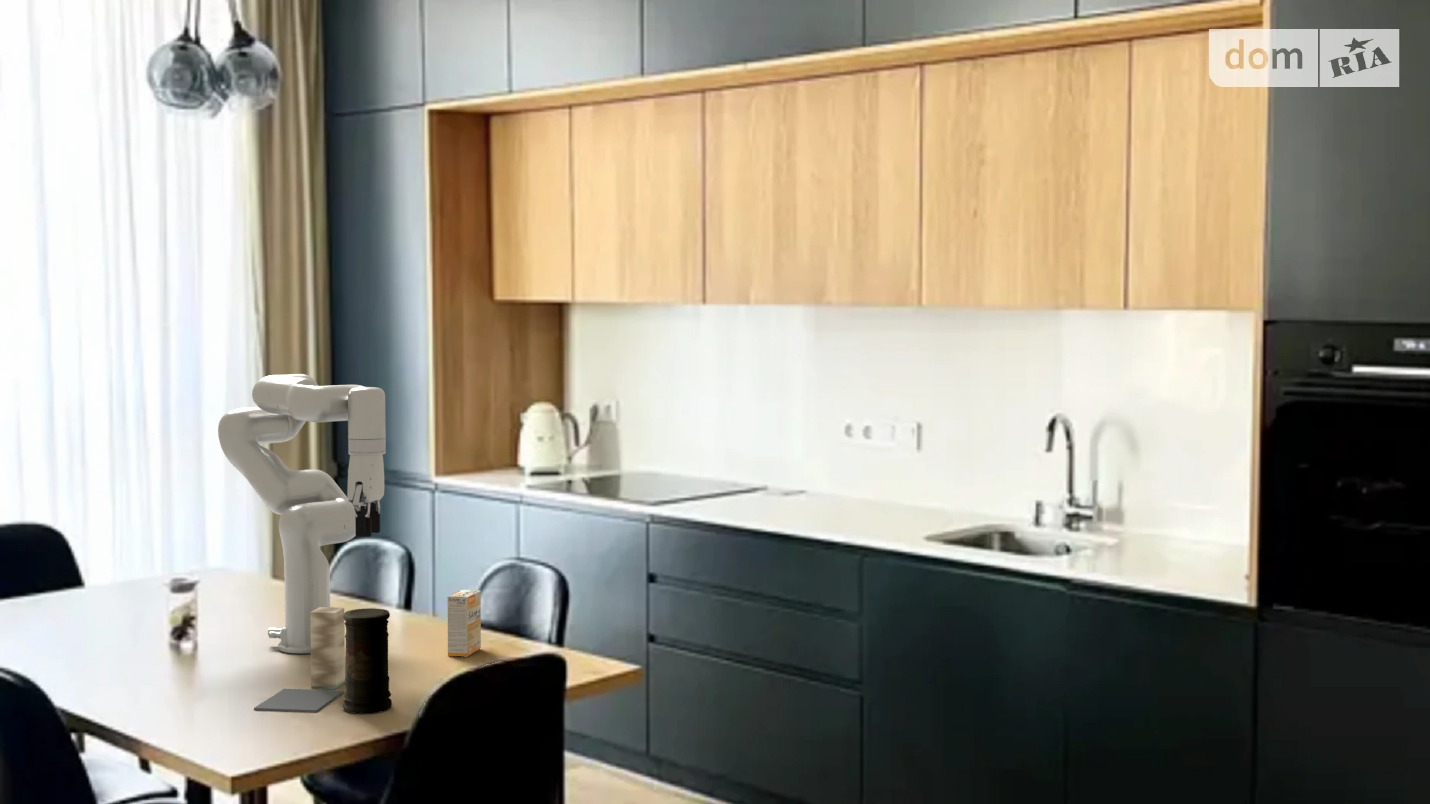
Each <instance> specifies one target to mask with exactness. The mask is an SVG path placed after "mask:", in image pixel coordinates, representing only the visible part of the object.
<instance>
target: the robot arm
mask: <svg viewBox="0 0 1430 804" xmlns="http://www.w3.org/2000/svg"><path fill="white" fill-rule="evenodd" d="M251 398H252V401H253V402H254V404H255V406H248V407H240V408H239V407H238V408H235V409H232V410H229V411H228V412H226V413H225V414H223V416H222V417H221V418H220V420H219V422H218V426H217V435H218V441H219V445H220V448H221V450H222V452H223V454H224V455H225V457H226V459H227V460H228V462H229V463H230V464H231V465H232V466H233V467H234V468H235V469H236V470H237V471H238V472H239V473H241V474H242V476H243V477H244V478H245V479H246V480H247V482H248V483H249V484H250V486H251V487H252V489H253V490H254V491H255V493H256V494H257V495H258V497H259V498H260V499H261V501H262V503H264V504H265V506H266V507H267V508H268V509H269V510H270V511H271V512H272V513H273V514H276V515H280V517H279V520H278V531H279V536H280V541H281V546H282V553H283V565H284V567H283V570H284V571H283V573H284V574H283V575H284V626H283V627H282V628H279V627H269V628H268V630H267V636H268V637H269V639H279V640H280V641H279V642H278V645H277V647H278V651H280V652H283V653H288V654H311V630H310V612H312V611H313V610H315V609H317V608H319V607H331V577H330V576H331V574H330V571H331V570H330V569H331V568H330V564H329V560H328V559H327V557H326V556H325V554H324V552H323V551H322V550H321V547H323V546H326V545H327V546H329V545H335V544H340V543H345V542H349V541H350V540H352V539H353V538H355V537H357V538H358V537H363V538H370V537H372V534H373V533H375V534H378V533H380V532H381V501H382V498H383V497H384V495H385V465H384V464H385V463H384V456H383V455H386V453H387V450H386V448H387V446H386V441H387V440H386V439H387V438H386V433H387V432H386V429H387V428H386V393H385V391H384V390H383V388H380V387H375V386H373V387H372V386H363V385H360V384H337V385H335V384H333V385H319V384H318V383H317V381H316V380H315V379H314V378H313V377H312V376H310V375H308V374H304V373H292V374H288V373H287V374H272V375H271V374H270V375H267V376H264V377H262V378H260V379H259V380H257V382H256V383H255V384H254V386H253V388H252V391H251ZM346 421H347V432H348V434H347V438H348V441H347V442H348V455H349V459H348V460H349V462H348V468H347V469H348V471H347V494H345V493H344V491H343V490H342V489H341V488H340V486H339V485H338V484H337V483H336V482H335V480H334V479H333V478H332V477H331V475H329V474H328V473H326V472H325V471H324V470H320V469H311V468H309V469H301V470H295V469H290V468H289V467H288V466H287V465H286V464H285V463H284V462H283V460H282V459H281V458H280V456H279V455H278V454H276V453H275V452H273V451H271V450H270V449H269V448H266V447H264V446H262V445H266V444H277V443H279V444H280V443H285V442H288V441H291V440H293V439H294V438H295V437H296V436H297V435H298V433H299V432H300V431H301V430H302V428H303V426H304V425H305V424H306V422H309V423H310V422H311V423H330V422H346Z"/></svg>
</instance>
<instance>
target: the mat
mask: <svg viewBox="0 0 1430 804" xmlns="http://www.w3.org/2000/svg"><path fill="white" fill-rule="evenodd" d="M344 693H345V690H343V689H342V690H337V689H314V688H310V689H309V688H308V689H307V688H282V689H280V691H278V692H276V693H275V694H273V695H271V696H270V697H269V698H267V699H265V700H263V701H262V702H260V703H259V704H258V705H256V706H255V707H253V710H254V711H265V712H266V711H271V712H272V711H273V712H292V713H293V712H295V713H296V712H299V713H318V712H319V711H321V710H323V708H324V707H326V706H327V705H329V704H330V703H332V702H333V701H335V700H336V699H338V698H339V697H340V696H341V695H344Z"/></svg>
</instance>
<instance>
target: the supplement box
mask: <svg viewBox="0 0 1430 804" xmlns="http://www.w3.org/2000/svg"><path fill="white" fill-rule="evenodd" d="M481 593H482V591H481V590H478V589H461V590H458V591H456V592H454V593H452V594H450V595H447V656H448V657H453V656H462V657H461V658H469V656H471V655H472V654H474V653H476V652H477V651H479V650H481V649H480V648H482V647H481V646H482V645H481V644H482V643H481V642H482V641H481V640H482V635H481V634H482V633H481V631H482V630H481V629H482V628H481V627H482V625H481V624H482V623H481V621H482V620H481V619H482V618H481V617H482V615H481V613H482V611H481V610H482V609H481V605H482V604H481V603H482V602H481V598H482V594H481ZM463 656H464V657H463Z"/></svg>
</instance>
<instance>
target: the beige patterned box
mask: <svg viewBox="0 0 1430 804" xmlns="http://www.w3.org/2000/svg"><path fill="white" fill-rule="evenodd" d="M344 613H345V607H334V606H333V607H331V606H330V607H319V608H317V609H315V610H313V611H312V612H310V630H311V653H310V680H311V681H310V682H311V684H310V685H311V686H310V689H321V690H337V689H339V687H341V686H342V685H344V684H345V678H346V638H345V635H346V627H345V620H344V619H343V615H344Z"/></svg>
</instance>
